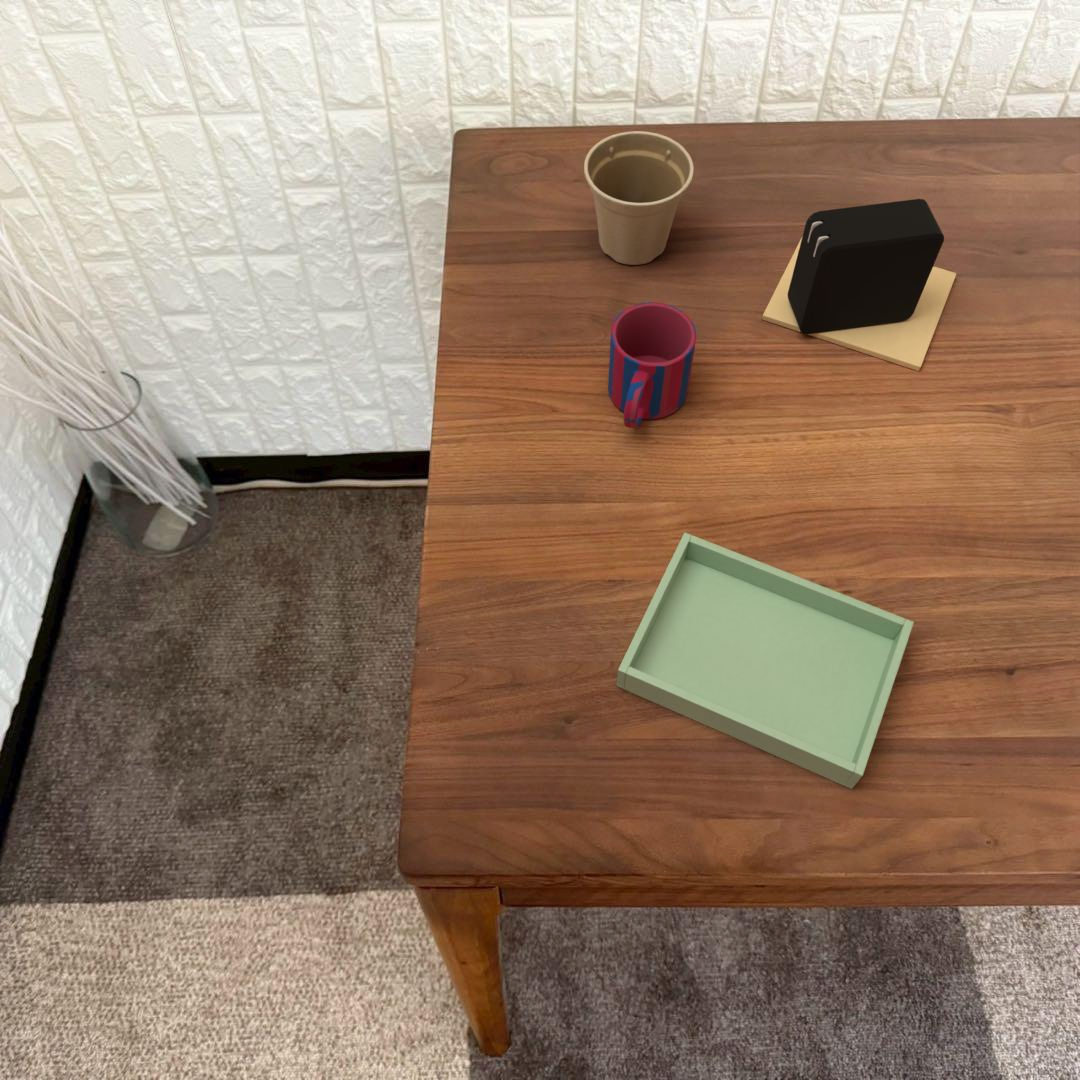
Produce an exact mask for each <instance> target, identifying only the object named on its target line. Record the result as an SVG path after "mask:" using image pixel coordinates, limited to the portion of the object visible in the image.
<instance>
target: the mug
mask: <svg viewBox="0 0 1080 1080" xmlns="http://www.w3.org/2000/svg"><path fill="white" fill-rule="evenodd" d="M696 342H697V330H696V327H695V325H694V322H693V321H692V319H691V318H690V317H689V315H687V313H685V312H684V311H682V310H681V309H679V308H678V307H675V306H673V305H671V304H667V303H664V302H657V301H656V302H652V301H650V302H641V303H636V304H634V305H632V306H631V305H630V306H629V307H628V308H626V309H624V310H623V311H621V312H620V313H619V314H618V315H617V317H615V319H614V321H613V323H612V324H611V329H610V341H609V343H610V344H609V361H608V364H609V365H608V377H607V378H608V380H607V392H608V396H609V398H610V400H611V402H612V403H613V404H614V406H615V407H616V408H617V409H618V410H620V411H621V412H623V424H624V427H626V428H628V429H637V428H638V427H640V424H641V422H642V420H658V419H663V418H666V417H668V416H671V415H672V414H674V413H675V412H677V411H678V410H679V409H680V408H681V407H682V406H683V405H684V403H685V401H686V399H687V397H688V391H689V385H690V379H691V374H692V368H693V367H692V366H693V362H694V361H693V360H694V354H695V348H696Z"/></svg>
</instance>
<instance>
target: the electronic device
mask: <svg viewBox="0 0 1080 1080" xmlns="http://www.w3.org/2000/svg"><path fill="white" fill-rule="evenodd" d="M802 236H803V237H802ZM802 236H801V238H802V240H801V239H800V240H801V244H800V248H799V252H798V256H797V260H796V263H795V267H794V271H793V275H792V279H791V283H790V287H789V290H788V300H789V302H790V305H791V308H792V310H793V313H794V316H795V318H796V321H797V324H798V326H799V329H800V332H799V333H801V332H802V333H801V334H803V335H807V334H814V333H822V332H830V331H837V330H845V329H853V328H860V327H868V326H876V325H883V324H891V323H899V322H903V321H906V320H907V319H909V318H910V317H911V316H912V315H913V313H914V311H915V309H916V306H917V304H918V302H919V299H920V297H921V294H922V292H923V290H924V287H925V285H926V282H927V280H928V278H929V275H930V273H931V270H932V268H933V266H934V265H935V263H936V261H937V259H938V256H939V253H940V251H941V249H942V246H943V244H944V241H945V235H944V233H943V232H942V230H941V227H940V225H939V223H938V222H937V220H936V217H935V216H934V213H933V212H932V210H931V207H930V206H929V204H928V202H927V201H926V200H925V199H923V198H916V199H915V198H914V199H907V200H899V201H891V202H882V203H874V204H865V205H856V206H849V207H840V208H834V209H826V210H819V211H816V212H813V213H812V214H811V215H809V217H808V218H807V219H806V221H805V225H804V229H803V233H802ZM934 267H935V266H934Z"/></svg>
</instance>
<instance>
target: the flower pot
mask: <svg viewBox="0 0 1080 1080" xmlns="http://www.w3.org/2000/svg"><path fill="white" fill-rule="evenodd" d="M694 169H695V168H694V162H693V159H692V157H691V155H690V154H689V152H688V151H687V150H686V148H685V147H684V146H683V145H682V144H680V142H677V141H676V140H675V139H673V138H671V137H669V136H666V135H663V134H661V133H656V132H650V131H645V130H644V131H642V130H633V131H632V130H631V131H625V132H623V131H622V132H618V133H615V134H611V135H608V136H607V137H604V138H603V139H601V140H600V141H598V142H597V143H596V144H594V145H593V146H592V147H591V148H590V149H589V151H588V152H587V154H586V156H585V159H584V162H583V173H584V178H585V180H586V182H587V184H588V186H589V189H590V191H591V194H592V195H593V202H594V209H595V216H596V223H597V231H598V233H597V234H598V243H599V246H600V248H601V251H602V252H603V253H604V254H605V255H608V256H609V257H610V258H611V259H612V260H613V261H615V262H616V263H619V264H622V265H628V266H639V265H644V264H648V263H651V262H652V261H653V260H654V259H656V258H657V257H658V256H660V255H662V254H663V253H664V251H665V250H666V249H665V248H666V246H667V242H668V239H669V235H670V232H671V229H672V225H673V223H674V219H675V216H676V212H677V209H678V205H679V202H680V200H681V199H682V197H683V196H684V194H685V192H686V190H687V189H688V188H689V186H690V185H691V182H692V181H693V178H694V171H695V170H694Z"/></svg>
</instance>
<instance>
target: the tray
mask: <svg viewBox="0 0 1080 1080" xmlns="http://www.w3.org/2000/svg"><path fill="white" fill-rule="evenodd" d="M669 561H670V562H669V563H668V565H667V567H666V569H665V571H664V574H663V576H662V577H661V580H660V582H659V584H658V586H657V588H656V590H655V592H654V594H653V596H652V598H651V601H650V602H649V604H648V606H647V609H646V611H645V613H644V615H643V617H642V618H641V621H640V623H639V625H638V627H637V629H636V632H635V634H634V636H633V637H632V640H631V642H630V644H629V646H628V648H627V650H626V652H625V654H624V656H623V658H622V660H621V663H620V665H619V667H618V669H617V675H616V676H617V677H616V683H615V685H616V687H618V688H620V689H623V690H625V691H627V692H629V693H631V694H633V695H636V696H638V697H640V698H642V699H645V700H647V701H650V702H652V703H654V704H657V705H659V706H661V707H663V708H665V709H667V710H670V711H673V712H674V713H677V714H679V715H680V716H681V715H682V716H683V717H686V718H688V719H690V720H694V721H695V722H698V723H700V724H702V725H704V726H706V727H709V728H711V729H714V730H715V731H718V732H720V733H723V734H725V735H727V736H729V737H732V738H734V739H736V740H739V741H741V742H743V743H745V744H748V745H750V746H752V747H754V748H757V749H759V750H762V751H763V752H766V753H768V754H770V755H773V756H776V757H777V758H780V759H782V760H784V761H785V762H786V761H787V762H789V763H791V764H793V765H796V766H797V767H800V768H803V769H805V770H807V771H809V772H811V773H814V774H816V775H818V776H821V777H823V778H825V779H828V780H829V781H832V782H835V783H837V784H839V785H841V786H843V787H846V788H849V789H851V790H853V789H854V787H855V786H856V785H857V783H858V782H859V781H860V780H861V779H862V778H863V776H864V773H865V770H866V768H867V765H868V762H869V759H870V755H871V753H872V749H873V747H874V744H875V741H876V738H877V735H878V731H879V729H880V726H881V723H882V720H883V717H884V713H885V711H886V708H887V705H888V702H889V699H890V695H891V693H892V690H893V686H894V684H895V680H896V678H897V675H898V672H899V669H900V665H901V663H902V660H903V658H904V654H905V651H906V649H907V645H908V642H909V638H910V636H911V633H912V629H913V627H914V624H915V622H914V621H913V620H911V619H908V618H905V617H904V616H903V617H902V616H900V615H898V614H895V613H892V612H890V611H888V610H885V609H882V608H880V607H877V606H874V605H872V604H869V603H866V602H864V601H862V600H860V599H857V598H854V597H853V596H852V597H851V596H849V595H846V594H843V593H842V592H838V591H837V590H834V589H831V588H829V587H826V586H823V585H820V584H818V583H816V582H814V581H811V580H808V579H805V578H802V577H800V576H798V575H796V574H792V573H790V572H787V571H785V570H783V569H779V568H777V567H774V566H772V565H770V564H767V563H765V562H762V561H759V560H757V559H754V558H751V557H749V556H747V555H744V554H742V553H739V552H736V551H734V550H731V549H728V548H727V547H726V548H725V547H723V546H721V545H718V544H716V543H713V542H710V541H709V540H706V539H703V538H700V537H698V536H695V535H692V534H690V533H688V532H683V534H682V536H681V537H680V541H679V542H678V545H677V546H676V549H675V551H674V552H673V555H672V557H671V559H670V560H669Z"/></svg>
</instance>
